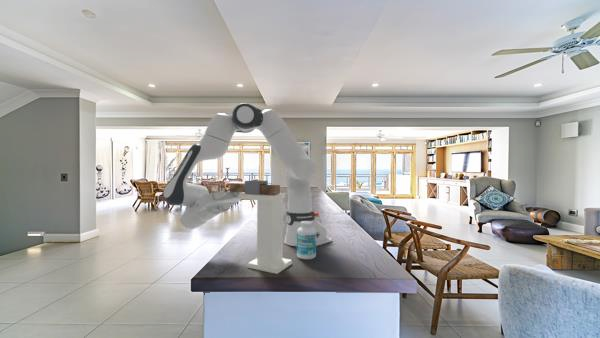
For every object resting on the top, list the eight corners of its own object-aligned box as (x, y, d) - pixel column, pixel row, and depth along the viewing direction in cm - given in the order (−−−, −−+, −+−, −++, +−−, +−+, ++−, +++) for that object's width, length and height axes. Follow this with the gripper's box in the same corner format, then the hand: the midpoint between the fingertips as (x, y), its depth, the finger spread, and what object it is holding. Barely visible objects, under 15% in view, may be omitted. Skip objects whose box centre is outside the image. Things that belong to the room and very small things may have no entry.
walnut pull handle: (229, 191, 101) (229, 183, 101) (235, 190, 104) (235, 183, 104) (275, 194, 92) (275, 185, 92) (279, 193, 95) (279, 185, 95)
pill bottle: (295, 259, 101) (295, 223, 101) (298, 253, 109) (298, 219, 109) (315, 260, 100) (315, 224, 100) (316, 254, 108) (317, 220, 108)
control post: (240, 265, 95) (240, 181, 94) (257, 257, 104) (257, 179, 103) (277, 273, 88) (277, 182, 88) (291, 263, 97) (292, 181, 97)
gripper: (186, 202, 99) (210, 184, 94) (225, 196, 118) (247, 181, 112) (192, 217, 98) (217, 200, 93) (231, 209, 116) (253, 194, 111)
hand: (234, 189), depth 102 cm, fingers open, 8 cm apart
